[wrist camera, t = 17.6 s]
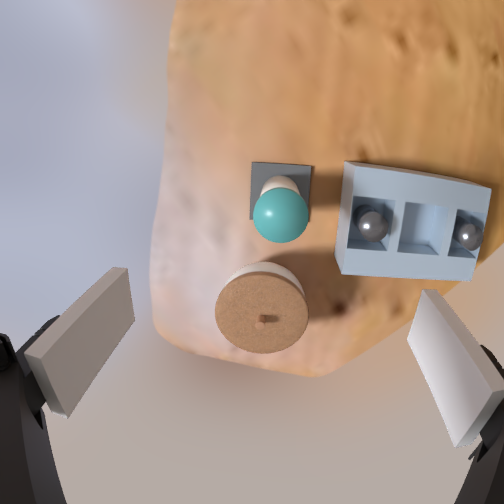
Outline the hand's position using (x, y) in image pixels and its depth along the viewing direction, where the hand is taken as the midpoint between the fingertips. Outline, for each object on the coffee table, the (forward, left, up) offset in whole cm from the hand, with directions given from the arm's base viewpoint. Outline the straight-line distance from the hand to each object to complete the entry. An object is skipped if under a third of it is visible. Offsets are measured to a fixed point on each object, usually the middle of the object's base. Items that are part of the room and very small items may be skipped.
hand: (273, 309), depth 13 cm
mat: (0, 0, -27) cm, 27 cm away
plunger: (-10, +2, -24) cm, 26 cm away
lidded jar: (+1, +13, -27) cm, 30 cm away
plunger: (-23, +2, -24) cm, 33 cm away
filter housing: (-17, +2, -27) cm, 31 cm away
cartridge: (0, 0, -26) cm, 26 cm away
